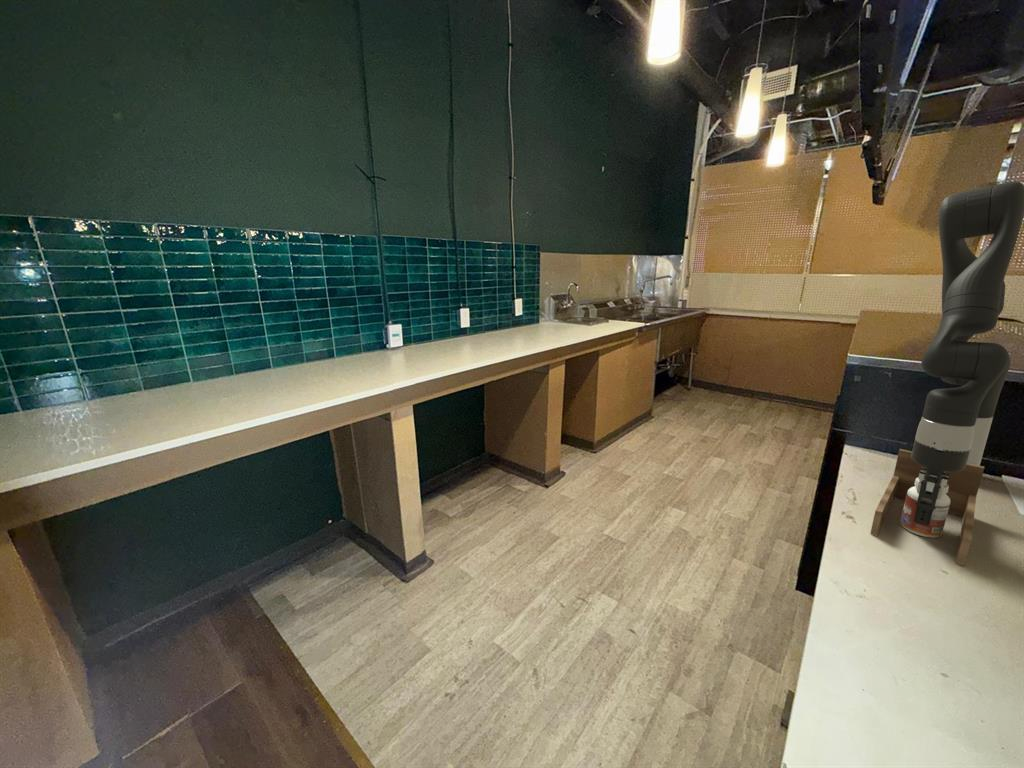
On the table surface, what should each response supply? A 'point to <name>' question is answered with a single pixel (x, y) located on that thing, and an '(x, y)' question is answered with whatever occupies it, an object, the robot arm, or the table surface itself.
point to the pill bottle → (936, 519)
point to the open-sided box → (959, 492)
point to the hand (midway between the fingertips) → (923, 516)
